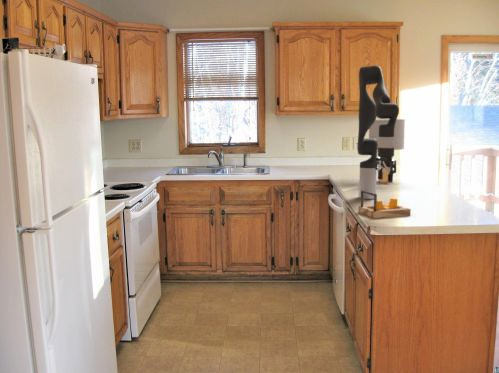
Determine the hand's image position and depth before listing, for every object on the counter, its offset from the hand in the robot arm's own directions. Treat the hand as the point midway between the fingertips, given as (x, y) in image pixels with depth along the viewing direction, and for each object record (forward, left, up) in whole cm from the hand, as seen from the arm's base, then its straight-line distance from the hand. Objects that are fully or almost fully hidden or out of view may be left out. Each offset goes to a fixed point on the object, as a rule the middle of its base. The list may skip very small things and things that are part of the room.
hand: (385, 180), depth 248 cm
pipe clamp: (0, 0, -16) cm, 16 cm away
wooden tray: (0, 0, -16) cm, 16 cm away
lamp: (-90, +57, -16) cm, 108 cm away
